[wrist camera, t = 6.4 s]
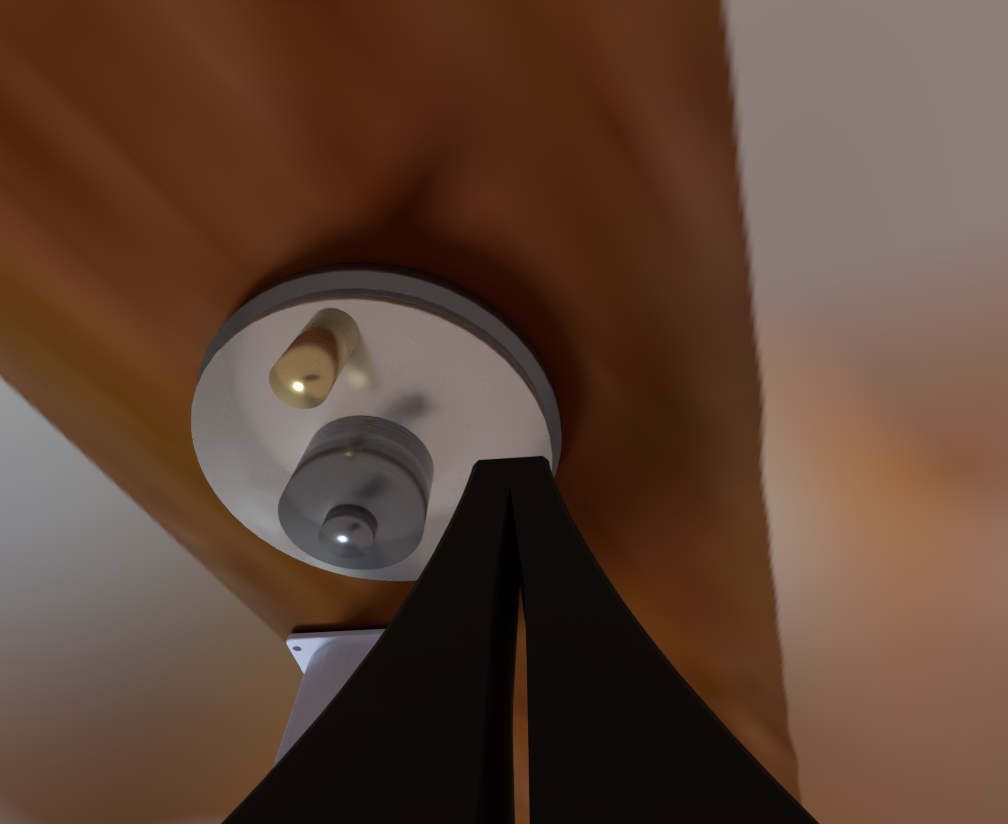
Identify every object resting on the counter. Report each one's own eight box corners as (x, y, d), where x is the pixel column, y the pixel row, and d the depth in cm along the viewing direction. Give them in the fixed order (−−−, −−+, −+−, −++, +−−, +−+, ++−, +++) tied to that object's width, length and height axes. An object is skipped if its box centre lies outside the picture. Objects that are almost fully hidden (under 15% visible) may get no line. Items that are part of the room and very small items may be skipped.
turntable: (555, 552, 24) (565, 642, 21) (277, 568, 25) (235, 658, 21) (542, 270, 17) (553, 330, 13) (139, 306, 17) (34, 372, 13)
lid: (441, 509, 21) (430, 584, 18) (325, 514, 21) (294, 590, 18) (423, 411, 18) (406, 480, 15) (289, 418, 19) (246, 488, 15)
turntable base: (563, 539, 26) (565, 555, 25) (279, 557, 26) (272, 572, 26) (553, 244, 17) (556, 252, 17) (140, 281, 18) (122, 291, 17)
